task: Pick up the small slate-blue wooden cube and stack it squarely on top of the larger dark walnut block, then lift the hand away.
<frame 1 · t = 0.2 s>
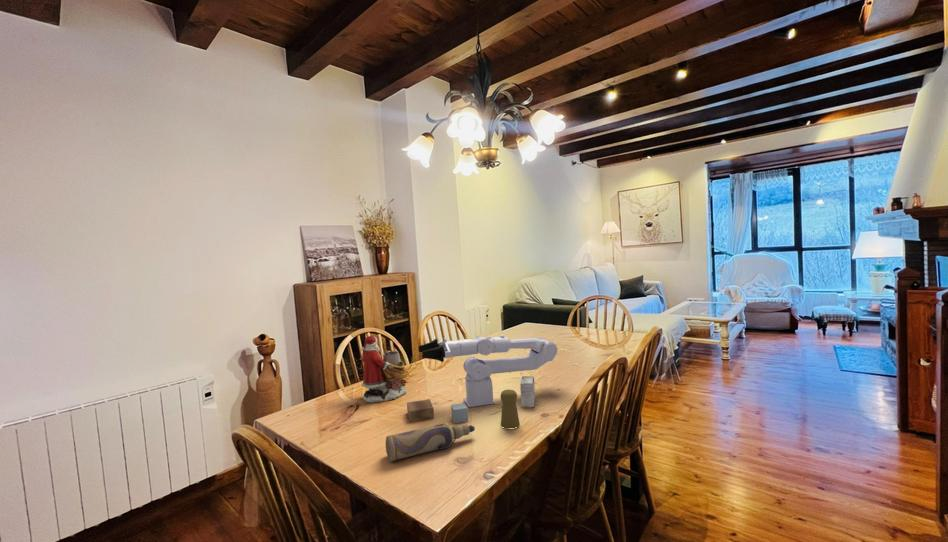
hand: (420, 351, 137), 21 cm above the table, tool horizontal, fingers open, 7 cm apart
slate cube: (459, 419, 130), on the table
santa figurine: (385, 396, 155), on the table
walnut block: (420, 416, 134), on the table
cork: (510, 425, 124), on the table
medicine box: (528, 403, 140), on the table
decorative bottle: (431, 451, 110), on the table
magic lamp: (397, 382, 170), on the table
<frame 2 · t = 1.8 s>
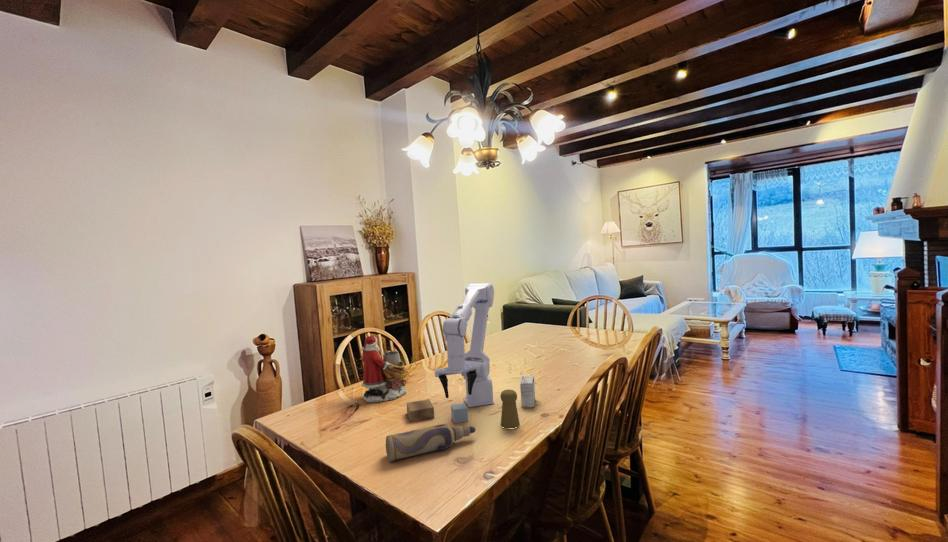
hand: (458, 395, 129), 8 cm above the table, tool pointing down, fingers open, 7 cm apart
nothing on the table moved.
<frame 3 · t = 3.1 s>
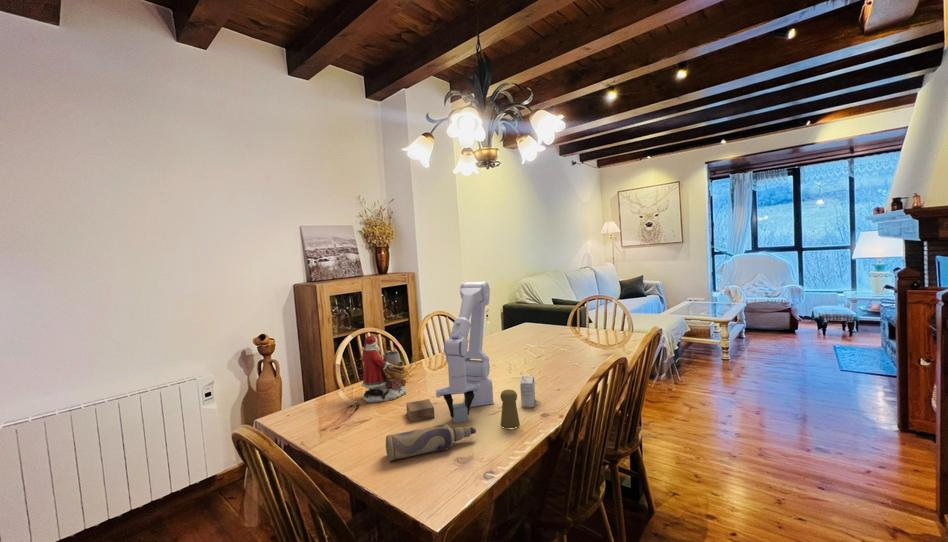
hand: (459, 415, 130), 1 cm above the table, tool pointing down, fingers closed on slate cube, 4 cm apart
slate cube: (459, 419, 130), on the table, touching gripper
everything else where it was.
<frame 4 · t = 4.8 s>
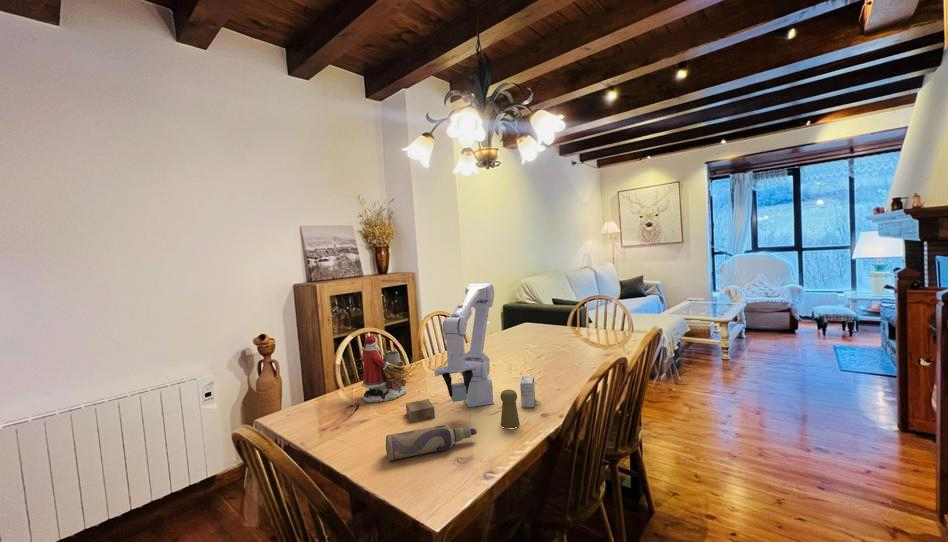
hand: (458, 394, 129), 8 cm above the table, tool pointing down, fingers closed on slate cube, 4 cm apart
slate cube: (458, 398, 129), point 7 cm above the table, touching gripper
everything else where it was.
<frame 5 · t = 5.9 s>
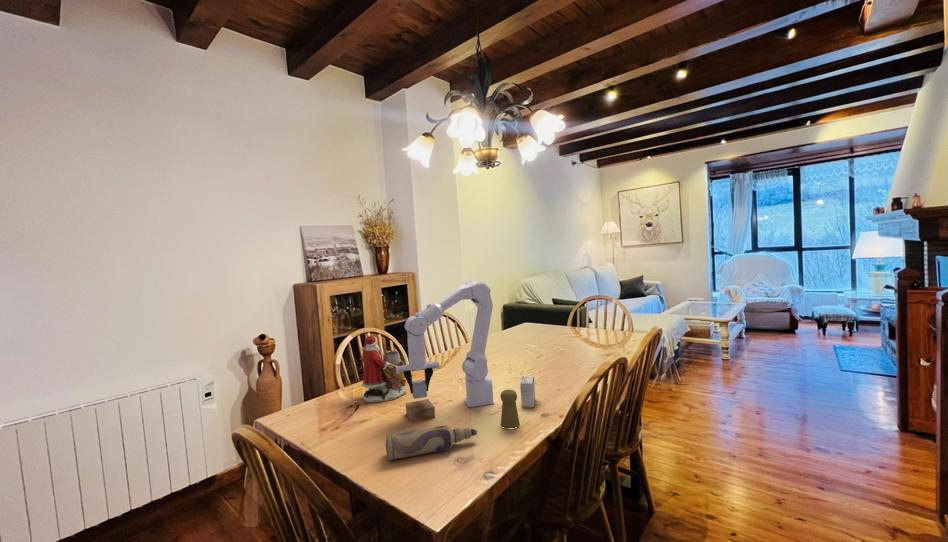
hand: (419, 391, 134), 8 cm above the table, tool pointing down, fingers closed on slate cube, 4 cm apart
slate cube: (419, 395, 134), point 7 cm above the table, touching gripper
when the fingers open (7 cm above the table, at t = 6.8 s): slate cube drops 2 cm, resting on walnut block.
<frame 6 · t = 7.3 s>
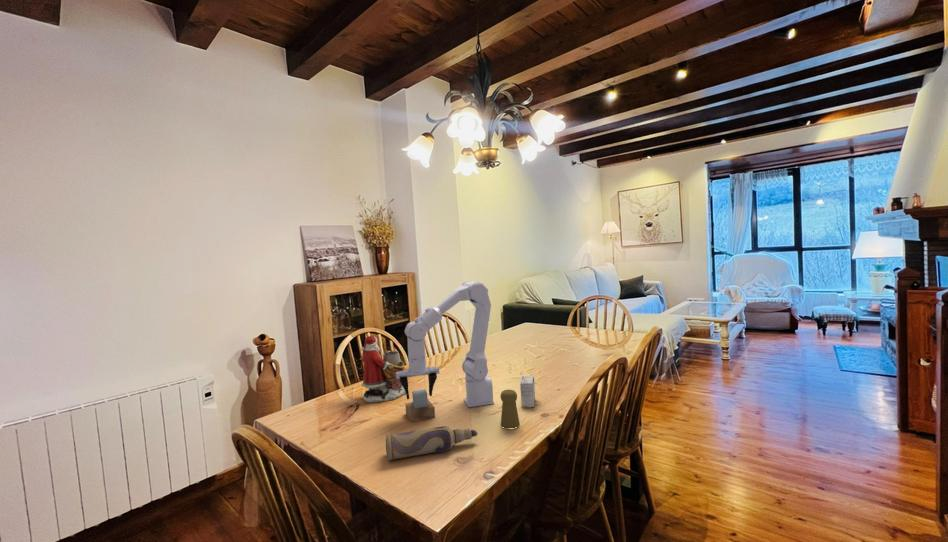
hand: (419, 396, 134), 7 cm above the table, tool pointing down, fingers open, 7 cm apart
slate cube: (420, 405, 134), point 4 cm above the table, touching walnut block
walnut block: (420, 416, 134), on the table, touching slate cube
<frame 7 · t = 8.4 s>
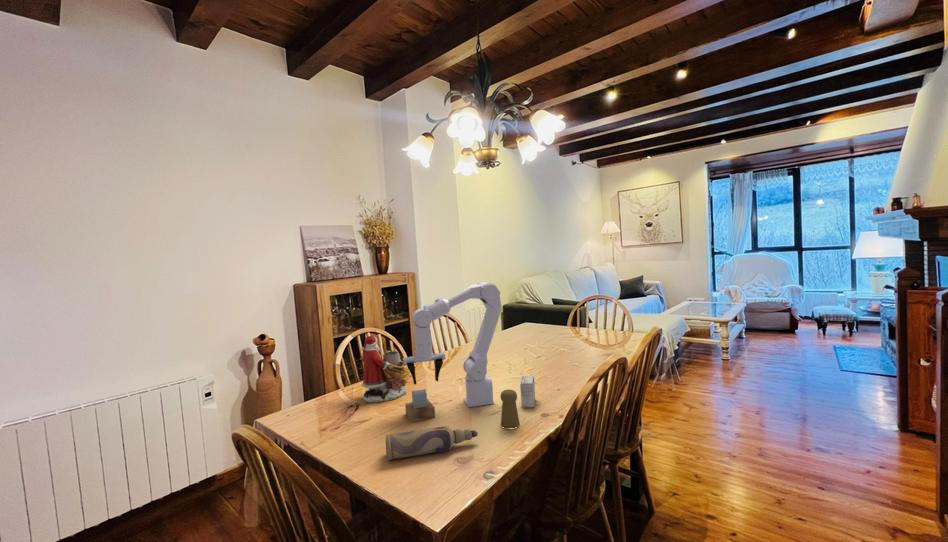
hand: (425, 381, 138), 10 cm above the table, tool pointing down, fingers open, 7 cm apart
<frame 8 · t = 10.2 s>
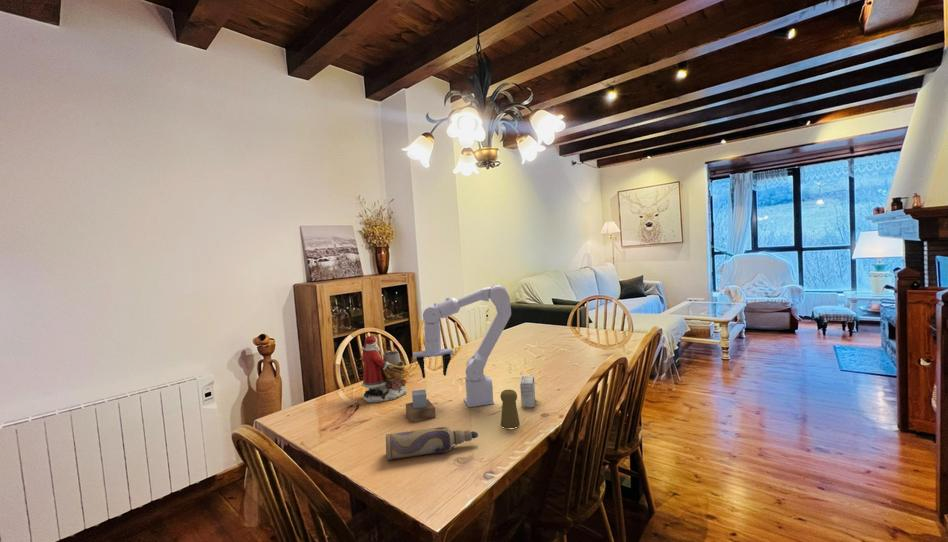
hand: (434, 376, 143), 10 cm above the table, tool pointing down, fingers open, 7 cm apart
at the end: slate cube 0.1 cm off-centre on the walnut block, point 4.0 cm above the walnut block's base; slate cube tilted 0°; the gripper is holding nothing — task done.
